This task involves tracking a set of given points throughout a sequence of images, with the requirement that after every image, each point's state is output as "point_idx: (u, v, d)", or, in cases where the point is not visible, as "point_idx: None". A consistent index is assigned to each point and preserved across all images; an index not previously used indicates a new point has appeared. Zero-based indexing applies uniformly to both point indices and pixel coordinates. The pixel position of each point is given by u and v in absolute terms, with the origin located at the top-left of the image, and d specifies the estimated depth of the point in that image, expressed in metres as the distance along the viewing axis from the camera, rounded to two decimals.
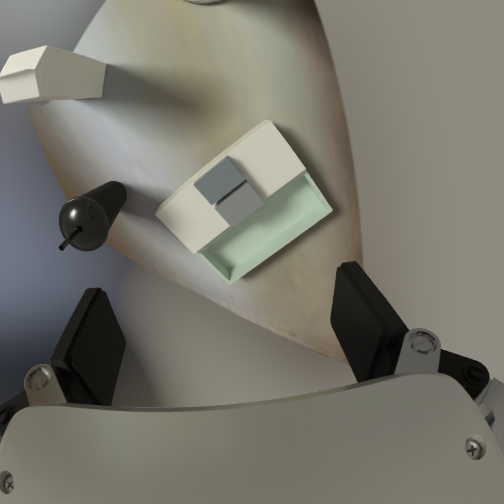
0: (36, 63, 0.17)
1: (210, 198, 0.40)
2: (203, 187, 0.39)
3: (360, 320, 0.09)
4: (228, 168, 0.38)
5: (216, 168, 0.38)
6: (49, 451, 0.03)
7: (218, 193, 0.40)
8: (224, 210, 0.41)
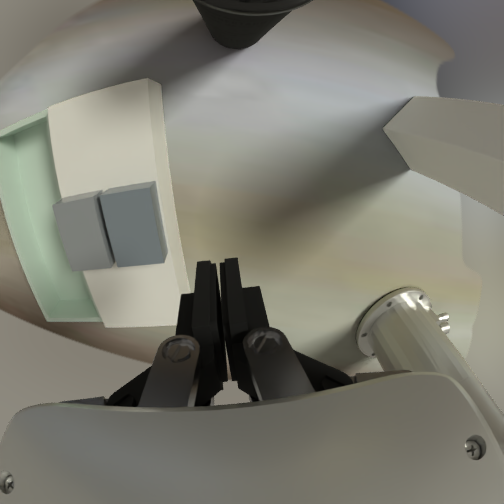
0: None
1: (111, 200, 0.19)
2: (136, 201, 0.19)
3: None
4: (146, 255, 0.21)
5: (155, 239, 0.20)
6: (49, 451, 0.03)
7: (114, 218, 0.19)
8: (82, 210, 0.19)
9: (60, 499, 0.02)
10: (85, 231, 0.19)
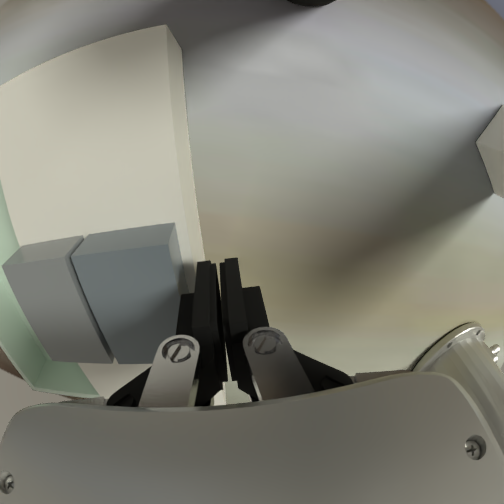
0: None
1: (93, 267, 0.10)
2: (141, 268, 0.10)
3: None
4: None
5: None
6: (49, 451, 0.03)
7: (102, 297, 0.10)
8: (50, 278, 0.10)
9: (60, 499, 0.02)
10: (61, 311, 0.10)
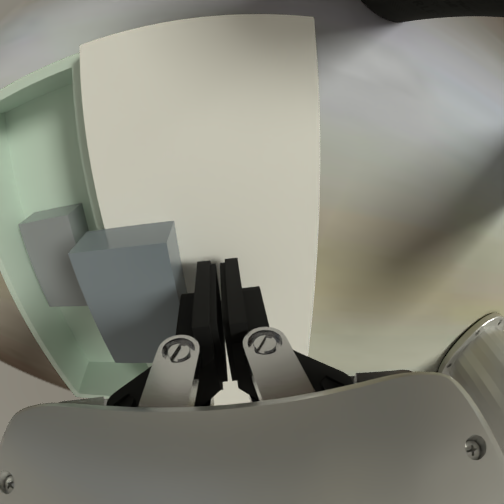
0: None
1: (91, 264, 0.09)
2: (139, 267, 0.10)
3: None
4: None
5: None
6: (49, 451, 0.03)
7: (100, 295, 0.10)
8: None
9: (60, 499, 0.02)
10: None
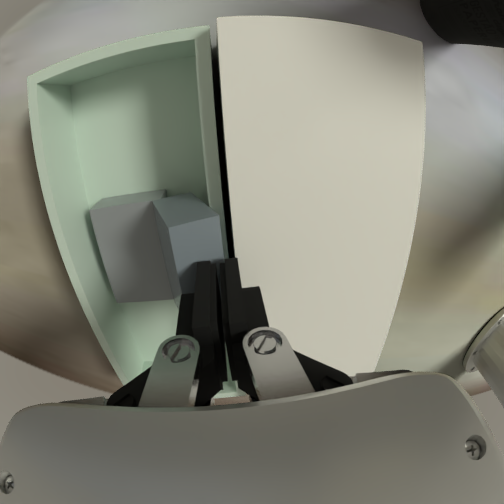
0: None
1: (156, 216, 0.13)
2: (165, 237, 0.11)
3: None
4: None
5: None
6: (49, 451, 0.03)
7: (162, 242, 0.14)
8: None
9: (60, 499, 0.02)
10: None
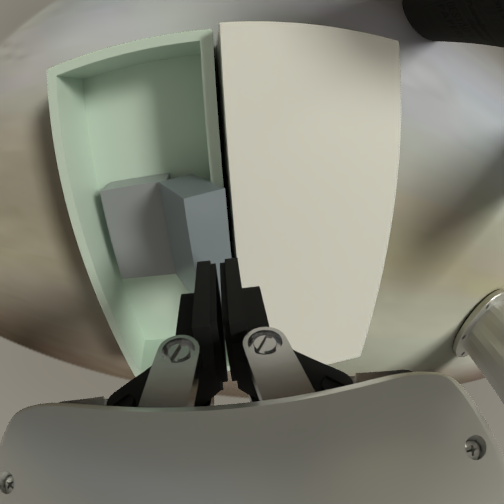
0: None
1: (164, 195, 0.14)
2: (177, 209, 0.13)
3: None
4: (190, 284, 0.15)
5: (194, 274, 0.14)
6: (49, 451, 0.03)
7: (168, 218, 0.15)
8: None
9: (60, 499, 0.02)
10: None
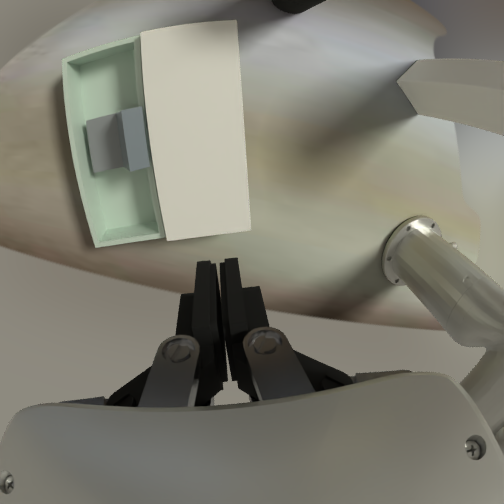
0: None
1: (117, 117, 0.24)
2: (120, 119, 0.23)
3: None
4: (126, 162, 0.25)
5: (126, 150, 0.24)
6: (49, 451, 0.03)
7: (119, 130, 0.25)
8: None
9: (60, 499, 0.02)
10: None
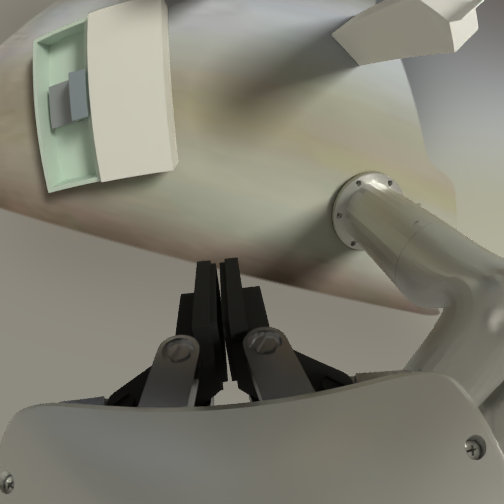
0: (451, 29, 0.12)
1: None
2: None
3: None
4: None
5: (70, 104, 0.24)
6: (49, 451, 0.03)
7: None
8: None
9: (60, 499, 0.02)
10: None
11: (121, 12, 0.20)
